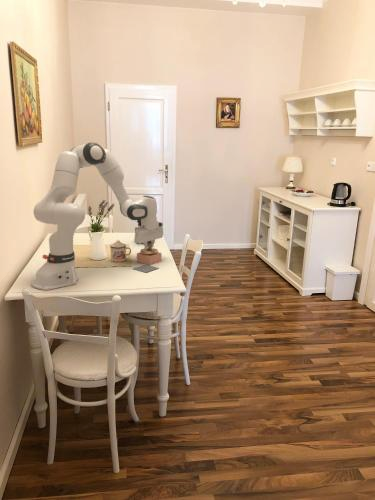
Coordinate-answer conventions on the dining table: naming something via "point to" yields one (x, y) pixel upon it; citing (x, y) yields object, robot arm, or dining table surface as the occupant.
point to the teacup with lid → (119, 251)
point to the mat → (145, 268)
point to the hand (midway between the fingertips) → (149, 248)
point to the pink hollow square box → (149, 258)
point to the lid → (149, 249)
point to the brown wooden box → (140, 225)
